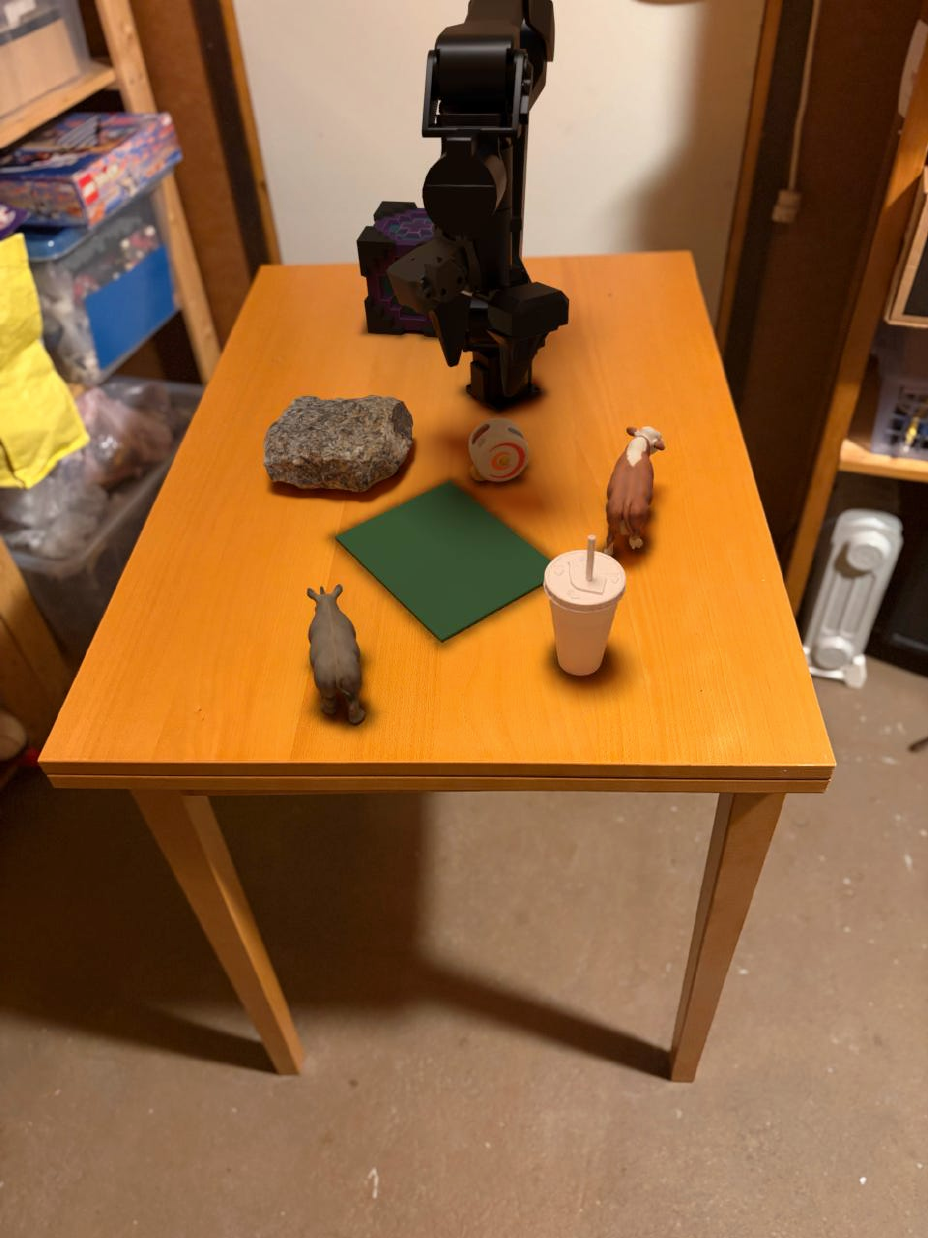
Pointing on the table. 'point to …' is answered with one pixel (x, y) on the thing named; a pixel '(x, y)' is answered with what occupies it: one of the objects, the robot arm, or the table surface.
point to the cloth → (446, 559)
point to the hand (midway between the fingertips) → (480, 380)
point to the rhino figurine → (334, 654)
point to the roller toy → (498, 450)
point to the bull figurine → (632, 487)
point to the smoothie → (583, 605)
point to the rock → (338, 442)
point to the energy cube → (379, 249)
